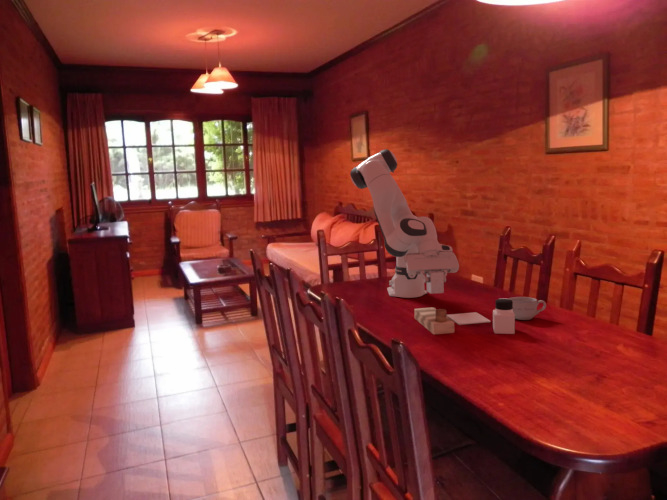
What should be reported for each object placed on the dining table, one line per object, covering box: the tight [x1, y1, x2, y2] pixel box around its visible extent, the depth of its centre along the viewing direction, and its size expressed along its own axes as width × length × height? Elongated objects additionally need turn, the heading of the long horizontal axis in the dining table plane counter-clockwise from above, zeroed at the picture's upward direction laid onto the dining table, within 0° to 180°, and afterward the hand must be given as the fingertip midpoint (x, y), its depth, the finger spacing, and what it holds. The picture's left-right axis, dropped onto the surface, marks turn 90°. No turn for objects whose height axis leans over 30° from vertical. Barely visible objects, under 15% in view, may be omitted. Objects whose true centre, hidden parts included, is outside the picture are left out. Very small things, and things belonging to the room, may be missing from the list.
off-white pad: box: [446, 311, 491, 326], centre depth 214 cm, size 13×13×1 cm
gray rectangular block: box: [426, 270, 445, 295], centre depth 205 cm, size 5×5×8 cm
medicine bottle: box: [492, 297, 516, 335], centre depth 196 cm, size 7×7×12 cm
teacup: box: [508, 296, 547, 321], centre depth 211 cm, size 14×11×8 cm
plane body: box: [413, 306, 455, 335], centre depth 207 cm, size 22×8×8 cm, turn 10°
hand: (435, 281), depth 204 cm, fingers closed on gray rectangular block, 5 cm apart
